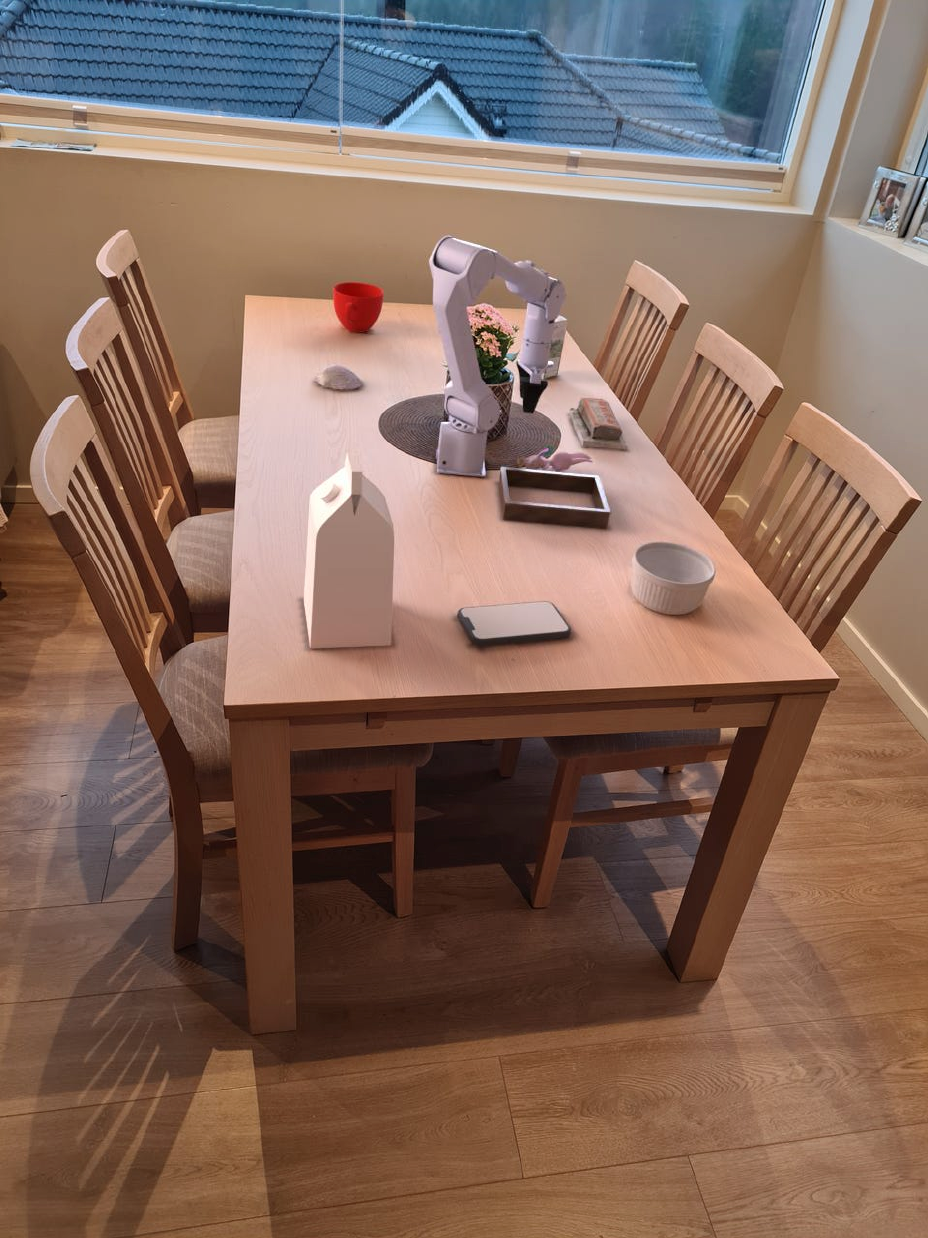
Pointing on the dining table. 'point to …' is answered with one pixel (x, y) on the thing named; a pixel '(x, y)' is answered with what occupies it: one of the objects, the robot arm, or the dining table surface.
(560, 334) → the syrup box
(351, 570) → the milk
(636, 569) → the ramekin
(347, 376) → the seashell
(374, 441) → the dining table surface
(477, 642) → the black smartphone
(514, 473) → the tray
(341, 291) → the ceramic cup
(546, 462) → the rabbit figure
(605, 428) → the butter dish
